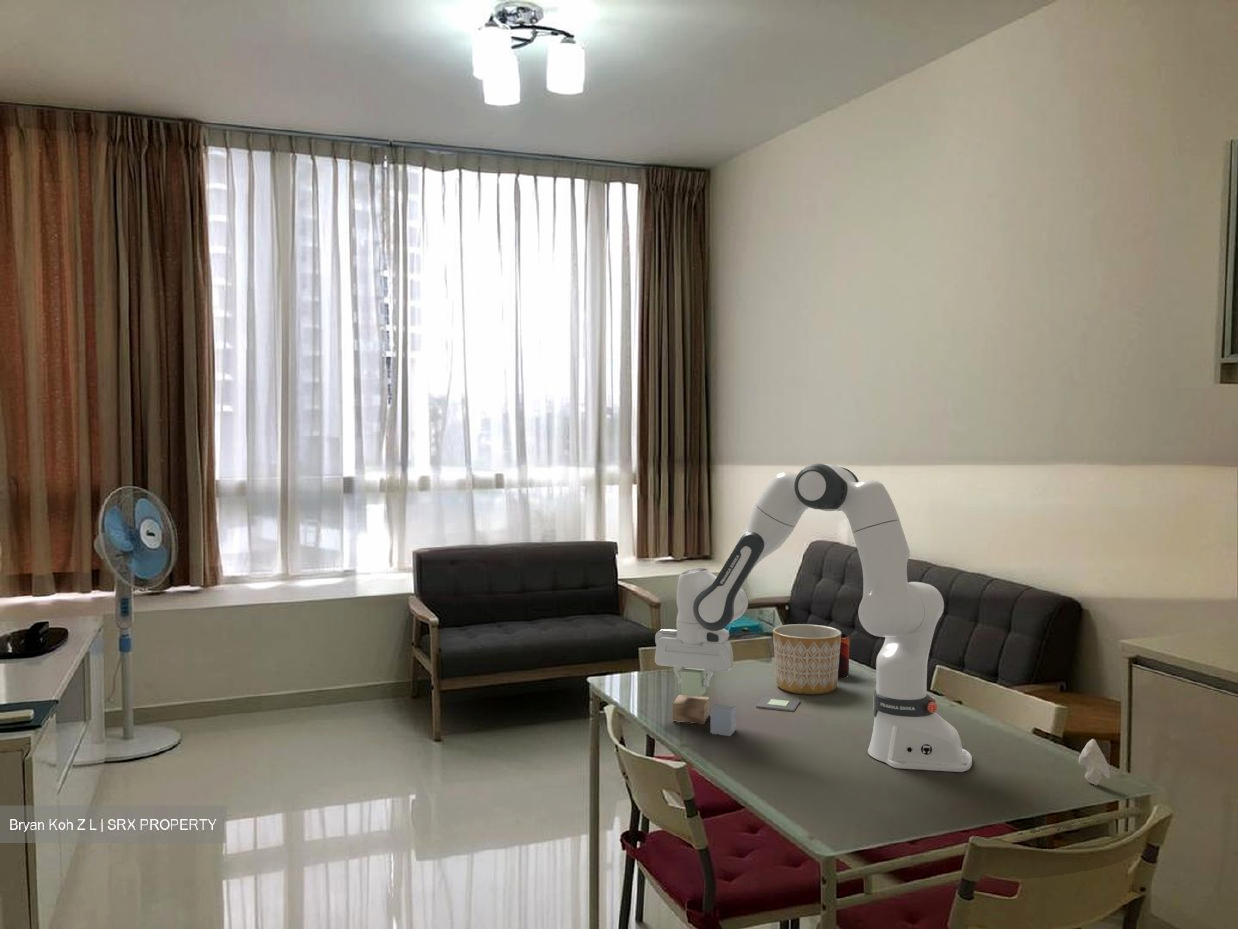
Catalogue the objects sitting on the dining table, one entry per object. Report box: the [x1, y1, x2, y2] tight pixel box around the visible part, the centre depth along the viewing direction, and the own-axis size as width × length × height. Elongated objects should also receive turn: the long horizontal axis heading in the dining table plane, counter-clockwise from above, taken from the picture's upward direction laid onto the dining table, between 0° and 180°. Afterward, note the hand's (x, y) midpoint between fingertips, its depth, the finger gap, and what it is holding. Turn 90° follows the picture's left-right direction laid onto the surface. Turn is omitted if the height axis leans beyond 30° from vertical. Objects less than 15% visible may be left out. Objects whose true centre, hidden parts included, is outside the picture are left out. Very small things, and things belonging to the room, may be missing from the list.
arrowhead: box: [1077, 738, 1111, 786], centre depth 200 cm, size 8×3×10 cm, turn 21°
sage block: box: [680, 668, 707, 697], centre depth 246 cm, size 5×5×6 cm
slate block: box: [710, 703, 737, 737], centre depth 236 cm, size 5×5×6 cm
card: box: [755, 695, 801, 713], centre depth 259 cm, size 10×10×1 cm
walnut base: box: [672, 694, 710, 725], centre depth 246 cm, size 8×8×5 cm
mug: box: [837, 632, 850, 680], centre depth 293 cm, size 10×14×12 cm
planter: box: [772, 623, 842, 696], centre depth 276 cm, size 19×19×16 cm
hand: (693, 685), depth 246 cm, fingers closed on sage block, 5 cm apart
